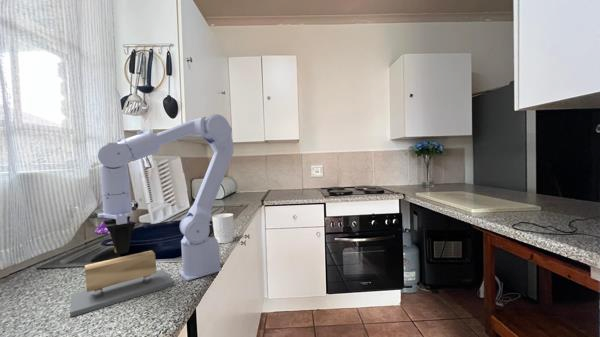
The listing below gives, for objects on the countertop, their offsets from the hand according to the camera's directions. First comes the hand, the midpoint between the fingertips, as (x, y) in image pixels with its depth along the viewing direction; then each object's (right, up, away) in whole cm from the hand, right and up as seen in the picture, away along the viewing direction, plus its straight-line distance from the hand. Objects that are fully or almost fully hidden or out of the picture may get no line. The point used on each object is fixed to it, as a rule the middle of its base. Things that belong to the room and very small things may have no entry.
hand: (121, 249), depth 67 cm
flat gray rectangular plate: (+1, -10, 0) cm, 10 cm away
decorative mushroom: (-21, -11, +31) cm, 40 cm away
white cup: (+15, -9, +39) cm, 42 cm away
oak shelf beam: (0, -7, 0) cm, 7 cm away
